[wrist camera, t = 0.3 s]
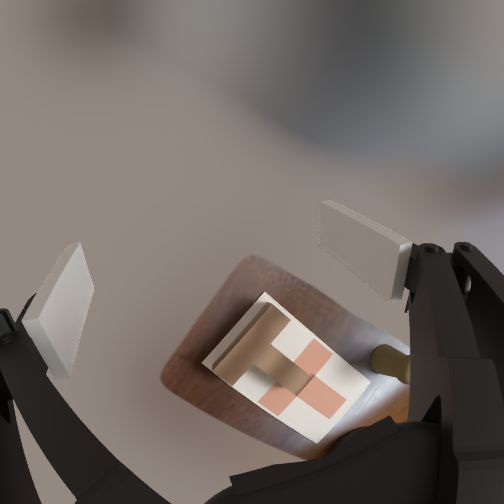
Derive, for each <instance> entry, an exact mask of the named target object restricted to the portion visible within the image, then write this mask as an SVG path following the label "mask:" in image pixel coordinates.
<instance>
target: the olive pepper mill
mask: <svg viewBox="0 0 504 504" xmlns="http://www.w3.org/2000/svg"><path fill="white" fill-rule="evenodd" d="M370 366H371V369H372V370H373V371H374V372H375V373H378V374H383V375H387V376H392V377H397V378H398V380H399V381H400V382H402V383H404V384H410V355H405V354H404V353H402V352H400V351H399V350H397V349H395V348H393V347H392V346H390V345H387V344H384V345H381V346H379V347H377V348H376V349H375V350H374V352H373V353H372V356H371V358H370Z"/></svg>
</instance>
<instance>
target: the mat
mask: <svg viewBox="0 0 504 504" xmlns="http://www.w3.org/2000/svg"><path fill="white" fill-rule="evenodd" d="M267 302H269V303H272V304H273V305H274V306H275V307H277V308H278V309H279V310H280V311H281V312H282V313H284V314H285V315H286V316H287V317H288V318H289V319H291V321H290V322H289V323H288V324H287V325H286V327H285V328H284V329H283V330H282V331H281V333H280V334H279V335H278V336H277V337H276V338H275V339H274V341H273V342H272V343H271V345H273V346H274V347H275V348H276V349H277V350H279V351H280V352H281V353H282V354H284V355H285V356H286V357H287V358H289V359H290V360H291V361H292V362H294V363H295V364H296V365H297V366H299V367H300V368H301V369H303V370H304V371H305V372H306V373H307V374H308V375H309V376H311V377H310V378H309V379H308V380H307V381H306V383H305V384H304V385H303V386H302V387H301V388H300V389H299V390H298V392H297V393H296V394H295V395H294V394H293V393H291V392H290V391H289V390H287V389H286V388H285V387H283V386H282V385H281V384H279V383H278V382H277V381H275V380H274V379H273V378H271V377H270V376H269V375H267V374H266V373H265V372H263V371H262V370H261V369H260V368H258V367H257V366H256V365H254V364H252V365H251V367H250V368H249V369H248V370H247V371H246V372H245V373H244V374H243V375H242V376H241V377H240V379H239V380H238V381H237V382H236V383H235V384H234V385H233V386H232V387H233V388H234V389H236V390H237V391H238V392H240V393H241V394H242V395H244V396H245V397H247V398H248V399H249V400H251V401H252V402H254V403H255V404H256V405H258V406H259V407H261V408H262V409H264V410H265V411H266V412H268V413H269V414H271V415H272V416H274V417H275V418H277V419H278V420H280V421H281V422H283V423H284V424H286V425H288V426H289V427H291V428H292V429H294V430H295V431H297V432H299V433H300V434H302V435H303V436H305V437H307V438H308V439H310V440H312V441H313V442H315V443H318V442H319V441H320V440H321V439H322V438H323V437H324V436H325V435H326V434H327V433H328V432H329V431H330V430H331V429H332V428H333V426H334V425H335V424H336V423H337V422H338V421H339V420H340V419H341V418H342V417H343V415H344V414H345V413H346V412H347V411H348V410H349V408H350V407H351V406H352V405H353V404H354V403H355V401H356V400H357V399H358V398H359V397H360V395H361V394H362V393H363V392H364V390H365V389H366V388H367V387H368V385H369V384H370V383H371V382H370V381H369V380H367V379H366V378H365V377H364V376H363V375H361V374H360V373H359V372H358V371H357V370H355V369H354V368H353V367H352V366H351V365H350V364H348V363H347V362H346V361H345V360H344V359H342V358H341V357H340V356H339V355H338V354H336V353H335V352H334V351H333V350H332V349H331V348H329V347H328V346H327V345H326V344H325V343H323V342H322V341H321V340H320V339H319V338H318V337H316V336H315V335H314V334H313V333H312V332H311V331H309V330H308V329H307V328H306V327H305V326H304V325H302V324H301V323H300V322H299V321H298V320H297V319H295V318H294V317H293V316H292V315H291V314H290V313H288V312H287V311H286V310H285V309H284V308H283V307H282V306H280V305H279V304H278V303H277V302H276V301H275V300H274V299H272V298H271V297H270V296H269V295H268V294H267V293H266V292H264V293H263V294H262V295H261V296H260V297H259V299H258V300H257V301H256V302H255V303H254V304H253V305H252V307H251V308H250V309H249V310H248V311H247V312H246V314H245V315H244V316H243V317H242V318H241V319H240V320H239V321H238V323H237V324H236V325H235V326H234V327H233V328H232V329H231V331H230V332H229V333H228V334H227V335H226V336H225V337H224V338H223V340H222V341H221V342H220V343H219V344H218V345H217V346H216V347H215V348H214V350H213V351H212V352H211V353H210V354H209V355H208V356H207V357H206V358H205V359H204V361H203V362H202V364H204V365H205V366H206V367H207V368H208V369H210V370H211V371H212V364H213V363H214V362H215V361H216V360H217V359H218V358H219V356H220V355H221V354H222V353H223V352H224V351H225V350H226V349H227V348H228V347H229V345H230V344H231V343H232V342H233V341H234V340H235V339H236V338H237V336H238V335H239V334H240V333H241V332H242V331H243V330H244V329H245V327H246V326H247V325H248V324H249V323H250V322H251V321H252V319H253V318H254V317H255V316H256V315H257V314H258V312H259V311H260V310H261V309H262V308H263V307H264V306H265V304H266V303H267ZM212 372H213V371H212ZM216 375H217V374H216ZM217 376H218V375H217ZM220 378H221V377H220ZM221 379H222V378H221ZM225 382H226V381H225ZM226 383H227V382H226ZM229 385H230V384H229ZM230 386H231V385H230Z"/></svg>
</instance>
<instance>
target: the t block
mask: <svg viewBox="0 0 504 504" xmlns="http://www.w3.org/2000/svg"><path fill="white" fill-rule="evenodd" d="M290 321H291V319H289V318H288V317H287V316H286V315H285V314H284V313H282V312H281V311H280V310H279V309H278V308H277V307H275V306H274V305H273V304H272V303H269V302H267V303H266V304H265V306H264V307H263V308H262V309H261V310H260V311H259V312H258V314H257V315H256V316H255V317H254V318H253V319H252V321H251V322H250V323H249V324H248V325H247V326H246V327H245V329H244V330H243V331H242V332H241V333H240V334H239V335H238V336H237V338H236V339H235V340H234V341H233V342H232V343H231V344H230V345H229V347H228V348H227V349H226V350H225V351H224V352H223V353H222V354H221V355H220V356H219V358H218V359H217V360H216V361H215V362H214V363H213V364H212V371H213V372H214V373H215V374H217V375H218V376H219V377H221V378H222V379H223V380H224V381H226V382H227V383H228V384H230V385H231V386H233V385H234V384H235V383H236V382H237V381H238V380H239V379H240V377H241V376H242V375H243V374H244V373H245V372H246V371H247V370H248V369H249V368H250V367H251V365H252V364H254V365H256V366H257V367H258V368H260V369H261V370H262V371H263V372H265V373H266V374H267V375H269V376H270V377H271V378H273V379H274V380H275V381H277V382H278V383H279V384H281V385H282V386H283V387H285V388H286V389H287V390H289V391H290V392H291V393H293V394H294V395H295V394H296V393H297V392H298V390H299V389H300V388H301V387H302V386H303V385H304V384H305V383H306V381H307V380H308V379H309V378H310V377H311V376H309V375H308V374H307V373H306V372H305V371H304V370H303V369H301V368H300V367H299V366H297V365H296V364H295V363H294V362H292V361H291V360H290V359H289V358H287V357H286V356H285V355H284V354H282V353H281V352H280V351H279V350H277V349H276V348H275V347H274V346H273V345H271V343H272V342H273V341H274V339H275V338H276V337H277V336H278V335H279V334H280V333H281V331H282V330H283V329H284V328H285V327H286V325H287V324H288V323H289V322H290Z"/></svg>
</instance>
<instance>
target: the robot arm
mask: <svg viewBox="0 0 504 504" xmlns="http://www.w3.org/2000/svg"><path fill="white" fill-rule="evenodd" d="M319 208H320V209H319V246H320V247H321V248H322V249H323V250H325V251H326V252H327V253H328V254H330V255H331V256H332V257H334V258H335V259H336V260H337V261H338V262H340V263H341V264H342V265H343V266H345V267H346V268H347V269H348V270H350V271H351V272H352V273H353V274H355V275H356V276H357V277H358V278H359V279H361V280H362V281H363V282H364V283H365V284H367V285H368V286H369V287H370V288H371V289H373V290H374V291H375V292H376V293H377V294H379V295H380V296H381V297H382V298H383V299H385V300H386V301H387V302H388V303H389V304H390V303H392V302H395V301H398V300H400V299H402V295H403V290H404V287H406V288H407V289H408V290H410V292H409V296H408V300H407V305H406V308H405V313H407V310H409V322H410V396H409V412H408V419H407V422H402V423H395V422H394V420H393V419H392V418H391V417H390V415H389V416H388V417H386V418H384V419H382V420H380V421H378V422H376V423H374V424H373V425H371V426H369V427H362V428H359V429H356V430H353V431H351V432H349V433H348V434H346V435H344V436H343V437H342V438H340V439H339V440H338V441H337V442H336V443H335V444H334V445H333V446H332V447H331V449H330V450H329V452H328V454H327V456H325V457H323V458H320V459H316V460H309V461H302V462H295V463H286V464H275V465H271V466H267V467H264V468H261V469H257V470H253V471H250V472H246V473H242V474H238V475H233V476H230V480H231V483H232V486H230V487H228V488H226V489H224V490H222V491H221V492H219V493H218V494H216V495H214V496H213V497H212V498H210V499H209V500H208V501H206V502H205V503H204V504H504V275H503V274H502V273H501V272H500V271H499V270H498V269H497V268H496V267H495V266H494V265H493V264H492V263H491V262H490V261H489V260H488V259H487V258H486V257H485V256H484V255H483V254H482V253H481V252H480V251H479V250H478V249H477V248H476V247H475V246H473V245H471V244H470V243H467V242H457V243H455V245H454V250H453V253H446V252H445V250H444V249H443V248H442V247H440V246H437V245H435V244H431V243H430V244H428V243H424V244H421V245H419V246H417V245H416V244H414V243H413V242H412V241H410V240H408V239H406V238H404V237H403V236H401V235H399V234H397V233H395V232H393V231H392V230H390V229H388V228H386V227H384V226H382V225H380V224H378V223H376V222H375V221H373V220H370V219H369V218H367V217H365V216H363V215H361V214H359V213H357V212H355V211H353V210H351V209H349V208H347V207H345V206H343V205H341V204H339V203H336V202H334V201H332V200H327V201H320V207H319ZM470 281H471V288H470V291H469V290H468V288H469V284H470ZM93 292H94V286H93V283H92V280H91V277H90V274H89V271H88V267H87V264H86V261H85V258H84V254H83V251H82V248H81V244H80V243H75V244H71V245H67V247H66V248H65V249H64V251H63V252H62V254H61V255H60V257H59V258H58V260H57V261H56V263H55V264H54V266H53V267H52V269H51V271H50V272H49V274H48V275H47V277H46V279H45V280H44V282H43V283H42V285H41V287H40V289H39V290H38V292H37V293H35V294H34V295H33V296H32V297H31V298H30V299H29V300H28V301H27V303H26V305H25V307H24V309H23V310H22V312H21V314H20V315H19V317H18V319H17V321H16V323H15V322H14V320H13V318H12V316H11V314H10V312H9V310H7V309H0V504H41V501H40V499H39V496H38V494H37V491H36V488H35V486H34V483H33V480H32V477H31V474H30V471H29V468H28V464H27V461H26V458H25V454H24V451H23V447H22V443H21V439H20V435H19V430H18V426H17V421H16V416H15V410H14V405H13V399H14V401H15V403H16V405H17V407H18V409H19V411H20V413H21V415H22V417H23V419H24V421H25V423H26V424H27V426H28V428H29V430H30V432H31V433H32V435H33V437H34V438H35V440H36V442H37V443H38V445H39V447H40V448H41V450H42V451H43V453H44V455H45V456H46V458H47V459H48V460H49V462H50V463H51V465H52V467H53V468H54V469H55V471H56V472H57V474H58V475H59V476H60V478H61V479H62V480H63V482H64V483H65V484H66V486H67V487H68V488H69V490H70V491H71V492H72V493H73V495H74V496H75V497H76V499H77V501H76V502H75V504H171V503H169V502H168V501H167V500H165V499H164V498H163V497H162V496H160V495H159V494H158V493H156V492H155V491H154V490H153V489H151V488H150V487H149V486H148V485H147V484H145V483H144V482H143V481H142V480H141V479H140V478H138V477H137V476H136V475H135V474H134V473H133V472H132V471H130V470H129V469H128V468H127V467H126V466H125V465H124V464H122V463H121V462H120V461H119V460H118V459H117V458H116V457H115V456H114V455H113V454H112V453H111V452H110V451H109V450H108V449H107V448H106V447H105V446H104V445H103V444H102V443H101V442H100V441H99V440H98V439H97V438H96V437H95V436H94V435H93V433H91V431H90V430H89V429H88V428H87V427H86V426H85V424H84V423H83V422H82V421H81V420H80V419H79V417H78V416H77V415H76V414H75V413H74V411H73V410H72V409H71V408H70V407H69V405H68V404H67V403H66V401H65V400H64V399H63V397H62V396H61V395H60V393H59V392H58V391H57V389H56V388H55V387H54V385H53V384H52V383H51V381H50V380H49V378H48V377H47V375H46V373H47V370H48V369H49V371H50V372H51V374H52V375H53V377H54V378H55V379H61V378H71V376H72V371H73V366H74V362H75V357H76V353H77V349H78V345H79V341H80V337H81V333H82V330H83V326H84V322H85V319H86V315H87V311H88V308H89V305H90V302H91V298H92V295H93Z"/></svg>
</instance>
